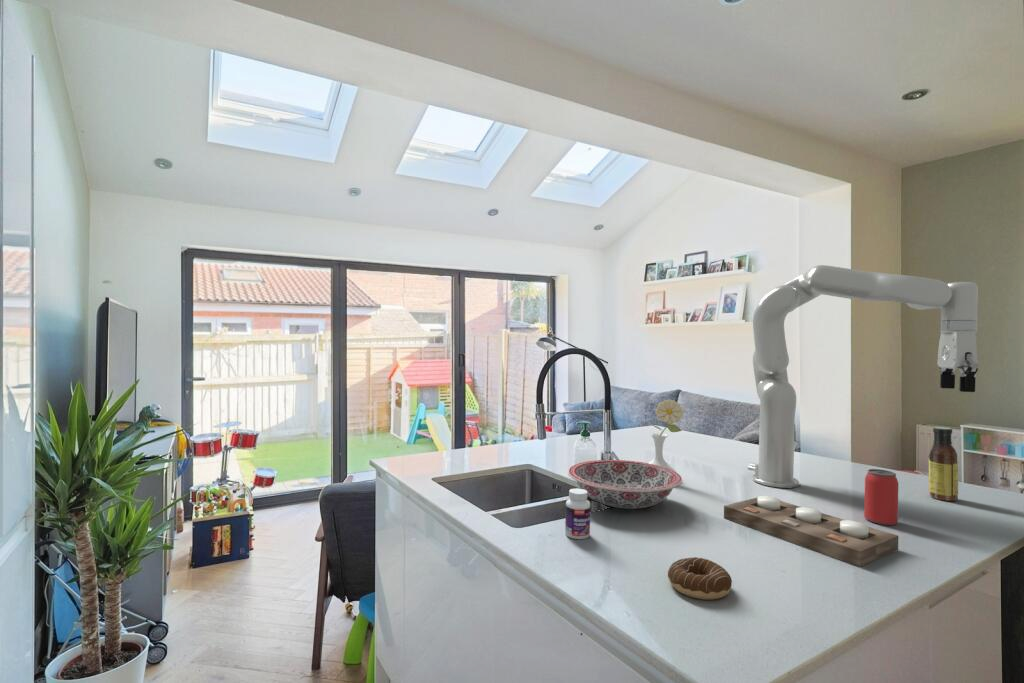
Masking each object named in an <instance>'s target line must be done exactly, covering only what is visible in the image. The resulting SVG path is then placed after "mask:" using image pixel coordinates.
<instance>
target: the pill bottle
mask: <svg viewBox="0 0 1024 683" xmlns="http://www.w3.org/2000/svg"><path fill="white" fill-rule="evenodd" d="M568 498H569V499H568ZM568 498H567V500H566V502H565V522H564V523H565V525H564V531H565V532H564V533H565V535H566V536H567V537H569V538H570V539H574V540H584V539H587V538H589V537H590V534H591V533H590V532H591V526H590V525H591V502H590V501H589V500H588V495H587V491H586V490H584V489H581V488H570V489H569V492H568Z"/></svg>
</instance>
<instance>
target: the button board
mask: <svg viewBox="0 0 1024 683" xmlns="http://www.w3.org/2000/svg"><path fill="white" fill-rule="evenodd" d="M758 497H759V496H757V497H753V498H750V499H746V500H742V501H738V502H734V503H729V504H725V505H724V506H723V519H725V520H728V521H732V522H734V523H737V524H738V525H742V526H745V527H748V528H751V529H753V530H756V531H759V532H762V533H764V534H767V535H770V536H773V537H776V538H778V539H782V540H783V541H786V542H790V543H792V544H794V545H795V544H796V545H798V546H800V547H803V548H806V549H808V550H811V551H815V552H818V553H820V554H823V555H825V556H828V557H831V558H834V559H836V560H839V561H842V562H844V563H847V564H849V565H853V566H856V567H858V568H861V567H862V566H865V565H867V564H870V563H872V562H875V561H877V560H878V558H879V559H881V558H884V557H886V556H888V555H890V554H893V553H895V552H897V551H899V535H897V534H894V533H892V532H891V533H890V532H887V531H884V530H880V529H877V528H873V527H870V526H868V527H869V529H868V538H866V539H859V538H854V537H850V536H847V535H844V534H842V533H840V521H843V520H845V519H843V518H840V517H837V516H832V515H830V514H826V513H823V512H821V523H819V524H811V523H806V522H803V521H800V520H797V519H796V508H799V507H801V506H798V505H795V504H793V503H789V502H786V501H782V500H780V510H778V511H769V510H766V509H763V508H759V507H758V506H757V498H758ZM896 550H897V551H896ZM894 551H895V552H894ZM892 552H893V553H892ZM889 553H890V554H889ZM887 554H888V555H887ZM885 555H886V556H885ZM876 559H877V560H876Z"/></svg>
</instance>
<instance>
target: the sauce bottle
mask: <svg viewBox="0 0 1024 683" xmlns="http://www.w3.org/2000/svg"><path fill="white" fill-rule="evenodd" d="M932 429H933V430H932V433H933V444H932V447H931V450H930V452H929V454H928V491H929V495H930V497H931V498H933V499H936V500H939V501H943V500H945V501H946V502H956V501H958V499H959V466H958V465H959V462H958V453H957V451H956V449H955V448H954V447H953V444H952V443H953V441H952V434H953V428H951V427H948V426H946V427H945V426H934V427H932Z"/></svg>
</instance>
